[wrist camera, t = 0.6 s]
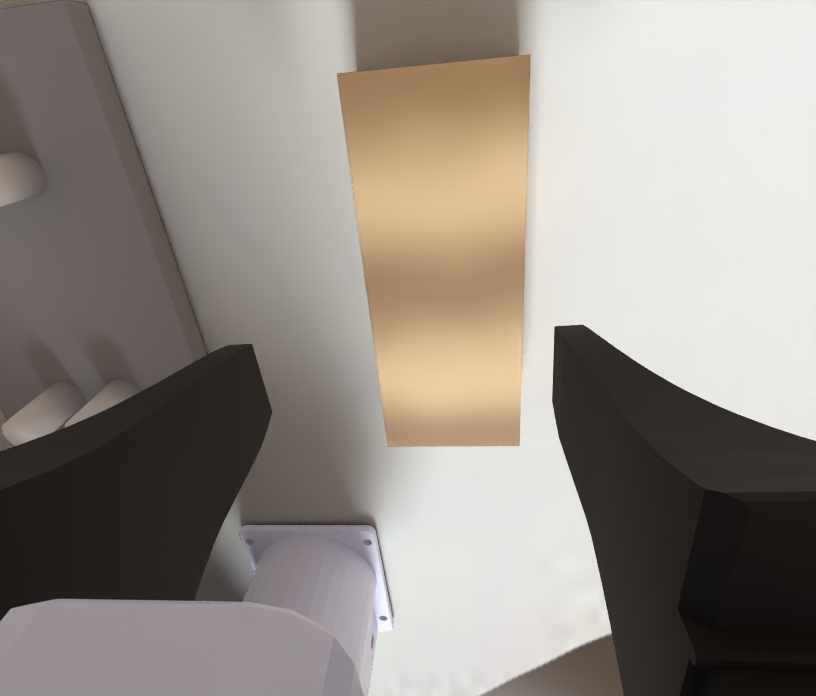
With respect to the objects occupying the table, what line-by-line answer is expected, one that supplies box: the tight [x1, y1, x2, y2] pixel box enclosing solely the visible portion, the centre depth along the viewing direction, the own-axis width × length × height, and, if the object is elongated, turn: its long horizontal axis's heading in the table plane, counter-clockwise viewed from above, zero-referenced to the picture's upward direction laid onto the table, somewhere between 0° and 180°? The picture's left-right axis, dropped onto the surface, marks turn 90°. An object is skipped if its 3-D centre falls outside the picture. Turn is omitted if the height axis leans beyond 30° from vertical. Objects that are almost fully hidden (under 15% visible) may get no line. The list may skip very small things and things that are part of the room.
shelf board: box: [337, 55, 530, 447], centre depth 19 cm, size 14×6×4 cm, turn 5°
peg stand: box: [0, 0, 208, 446], centre depth 21 cm, size 20×11×4 cm, turn 6°
